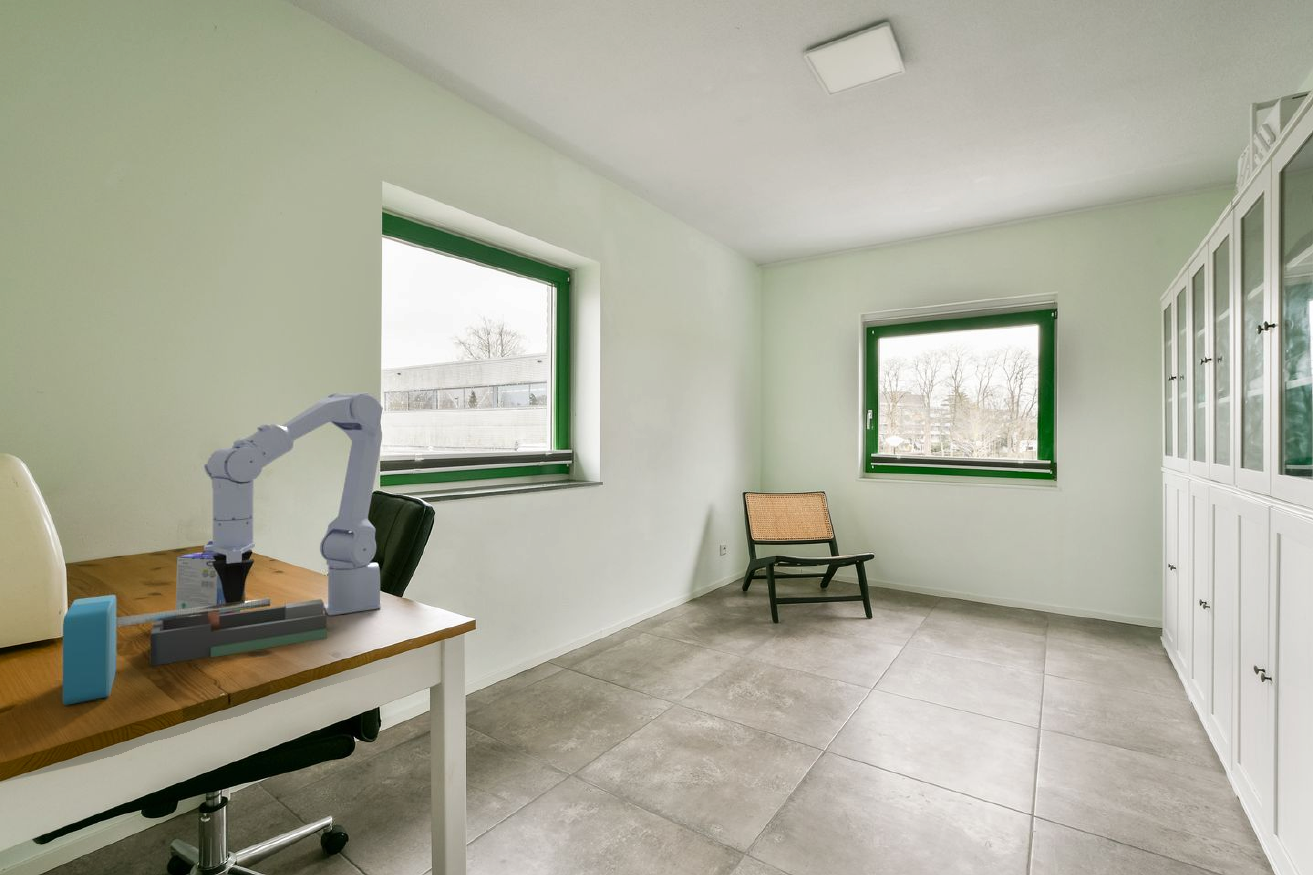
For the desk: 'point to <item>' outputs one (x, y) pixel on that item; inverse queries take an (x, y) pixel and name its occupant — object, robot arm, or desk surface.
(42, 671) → the desk surface
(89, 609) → the blue flat block
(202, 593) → the ink cartridge box
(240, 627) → the pitch
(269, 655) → the desk surface
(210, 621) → the kicker
